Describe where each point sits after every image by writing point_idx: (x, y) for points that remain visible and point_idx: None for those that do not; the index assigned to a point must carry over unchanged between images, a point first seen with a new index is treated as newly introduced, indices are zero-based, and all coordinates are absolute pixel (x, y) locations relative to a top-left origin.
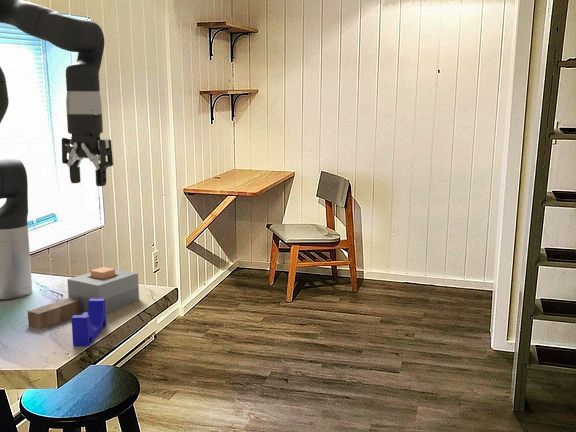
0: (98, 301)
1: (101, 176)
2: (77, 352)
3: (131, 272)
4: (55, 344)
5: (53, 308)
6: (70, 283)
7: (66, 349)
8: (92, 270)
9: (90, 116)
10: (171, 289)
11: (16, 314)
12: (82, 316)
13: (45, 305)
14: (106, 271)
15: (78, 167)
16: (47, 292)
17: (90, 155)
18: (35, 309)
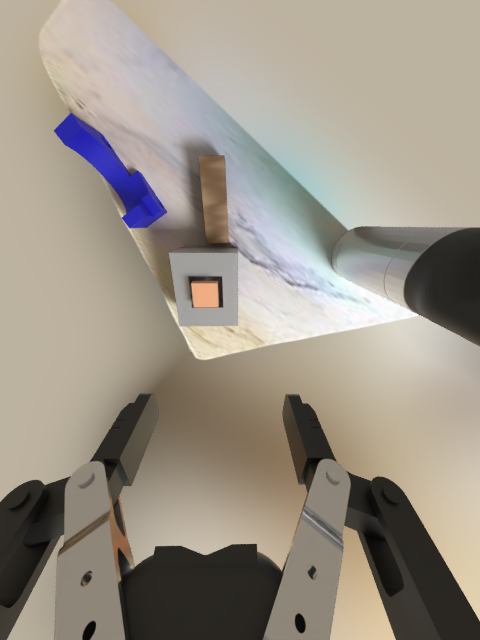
0: (127, 214)
1: (109, 431)
2: None
3: (190, 324)
4: (127, 124)
5: (203, 191)
6: (231, 252)
7: (97, 117)
8: (215, 284)
9: None
10: (196, 356)
11: (280, 190)
12: (65, 131)
13: (225, 195)
14: (192, 291)
15: (299, 476)
16: (314, 280)
17: (73, 582)
18: (221, 170)
